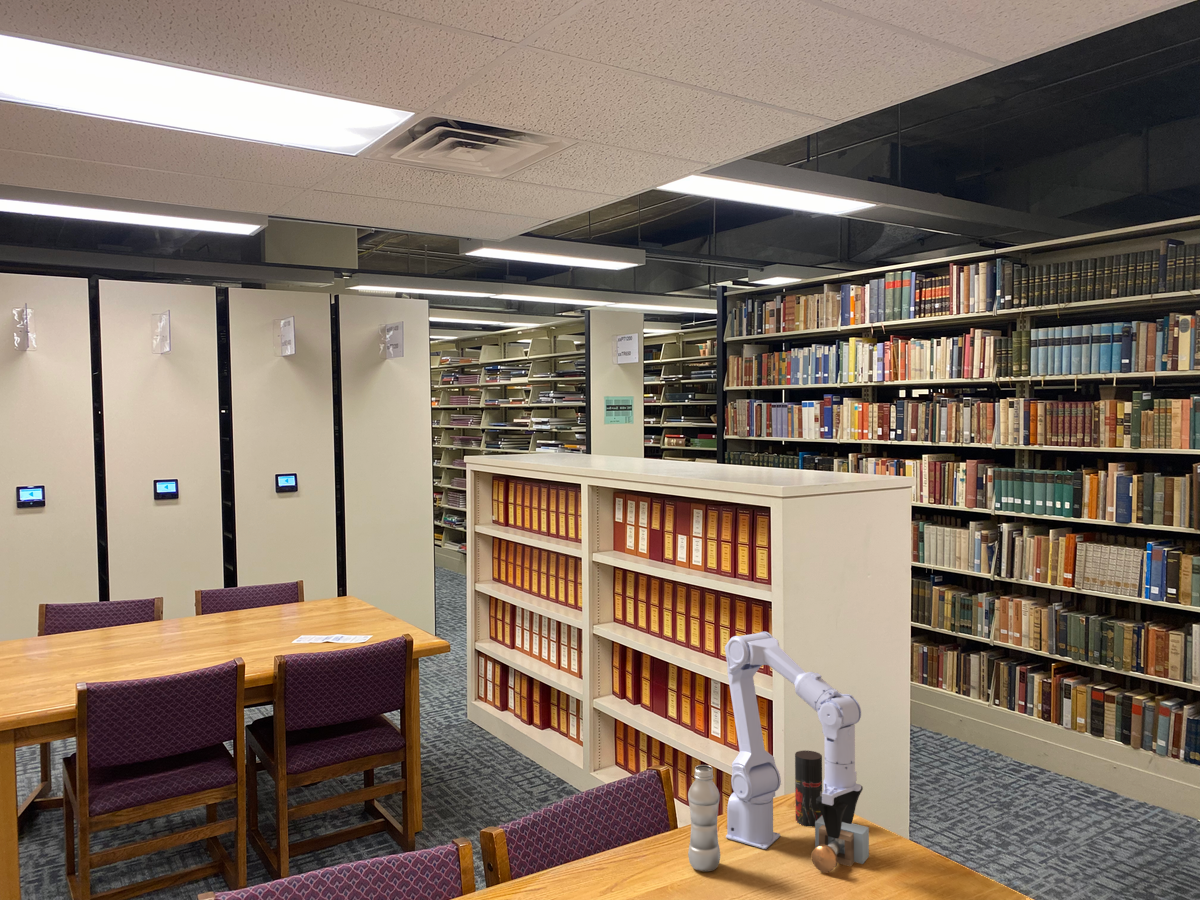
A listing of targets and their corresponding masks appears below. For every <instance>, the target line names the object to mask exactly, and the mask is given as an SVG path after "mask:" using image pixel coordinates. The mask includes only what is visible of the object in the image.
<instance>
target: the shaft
mask: <svg viewBox="0 0 1200 900" xmlns="http://www.w3.org/2000/svg"><path fill="white" fill-rule="evenodd" d="M844 846H845V840H842V839H836V838H834V839H833V840H832V841H831V842H830V843H829V844H828V845H824V844H821V845H818V846H817V847H816V848H815V847H814V848H813V850H812V852H811V855H810V856H811V857H810V858H811V861H812V863H813V866H814V867H815V868H816V869H817V870H818V871H820V872H822V873H830V872H832V871H833V870H834V869H835V868H836V866H837V864H838V863H837V854H838V853H839V852H840V851H841V850H842V849H843V847H844Z"/></svg>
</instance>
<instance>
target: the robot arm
mask: <svg viewBox="0 0 1200 900" xmlns="http://www.w3.org/2000/svg"><path fill="white" fill-rule="evenodd" d="M724 652H725V653H724V654H725V660H726V663H727V668H726V671H727V678H728V684H729V691H730V696H731V697H730V698H731V704H732V710H733V717H734V722H735V729H736V737H737V741H738V742H737V743H738V749H739V750H738V751H739V752H738V754H737V755H736V757H735V759H734V760H733V761H732V762H731V768H732V771H731V773H732V775H731V782H730V783H731V788H732V791H733V792H732V793H731V794H730V796H729V797H728V803H727V807H726V811H727V812H726V813H727V814H726V815H727V817H726V818H727V820H726V821H727V822H726V823H727V828H726V829H727V834H726V835H725V838H726V839H728V840H731V841H734V842H735V841H736V842H739V843H742V844H745V845H748V846H751V847H756V848H758V849H762V850H767V849H768V848H770V846H771V845H772V844H774V843H775V842H776V841H777V840H778V839H779V838H780V837H781V834H780V833H779V832H775V831H774V797H776V792H777V791H778V790H779V789H780V787H781V783H782V779H781V773H780V771H779V769H778V767H777V765H776V759H775V757H774V755H772V754H770V753H769V752H768V751H767V750H766V749H765V743H764V737H763V736H764V735H763V731H762V730H763V729H762V724H761V718H760V711H759V705H758V699H757V694H756V687H755V681H754V676H755V675H756V674H757V672H758V670H759V669H760V668H761V667H763V666H769V667H770V668H771V669H772V670H774V671H775V672H776V673H778V674H779V675H781V676H782V677H783V678H785V679H786V680H787V681H788V682H790V683H791V684H793V685H794V691H795V694H796V695H797V696H798V697H799V698H800V699H801V700H802V701H804V702H805V703H806V704H807V705H808V706H809V707H810V708H812V709H813V710H814V711H815V712H816V714H817V717H818V721H819V722H820V724H821V727H822V734H823V737H824V738H823V739H824V741H823V743H824V779H823V790H822V796H819V797H818V798H816V804H817V806H818V808H819V809H820V811H821V814H822V816H823V819H824V823H825V828H826V832H827V835H828V836H829V837H833V838H836V839H838V838H839V836H840V832H841V824H842V822H844V823H848V824H851V823H853V821H854V816H855V812H856V807H857V804H858V801H859V797H860V795H861V793H862V792H863V790H864V789H863V788H864V787H863V786H862V785H861V784H859V783H857V779H858V778H857V775H858V774H857V773H858V772H857V771H856V724H858V723H859V722H860V720H861V718H862V709H861V706H860V704H859V702H858V701H857V699H856V698H855V697H854V696H853V695H852V694H849V693H841V692H839V691H838V690H837V688H834V687H832V686H831V685H830V684H829V683H827V682H826V681H825V680H824V679H823V678H822V675H821V674H820V673H819V672H813V671H807V672H806V671H805V670H804V669H803V668H802V667H801V666H800V665H799V664H798V663H796V662H795V661H794V660H793V658H791V657H790V655H788V654H787V653H786V652H785V651H784V650H783V649H782V648H781V646H780V642H779V640H778V639H777V638H775V637H773V635H772V634H771V633H769V632H768V631H760V632H757V633H751V634H744V635H734V636H732V637H731V638H730V639H729V640H728V641H727V643H726V644H725V646H724Z"/></svg>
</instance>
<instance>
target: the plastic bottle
mask: <svg viewBox="0 0 1200 900" xmlns="http://www.w3.org/2000/svg"><path fill="white" fill-rule="evenodd" d="M713 771H714V769H713V767H712V766H710V765H707V764H699V765H696V766H695V767H694V774H693V775H694V779H695V780H694V781H693V782H692V784H691V786H690V787H689V790H688V792H687V799H688V804H689V812H690V815H689V816H690V836H689V837H690V841H689V843H688V844H689V846H688V853H687V855H688V856H687V857H688V861H689V864H690V866H691V867H692V868H693V870H694V869H695V870H696V871H699V872H711V871H714V870H716V869H717V868H718V866H719V865H720V861H721V848H720V845H719V837H718V813H719V804H720V792H719V789H718V787H717V786H716V784H715V783H714V780H713V779H714V774H713V773H714V772H713Z"/></svg>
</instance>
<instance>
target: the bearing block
mask: <svg viewBox="0 0 1200 900" xmlns="http://www.w3.org/2000/svg"><path fill="white" fill-rule="evenodd" d="M822 825H825V823H824V819H823V816H821V817H820V818H819V819H818V820H817V821H816V822H815V827H814V843H815V844H814V849H815V848H816V847H817V846H818V845H819V828H820V827H821V826H822ZM841 830H844V831H847V832H851V833H854V863H857V864H860V865H863V864H865V862H866V861H867V860H868V858H869V857H870V832H869V831H870V827H869V826H865V825H861V824H856V823H853V822H852V823H851V824H848V823H844V822H842V824H841ZM833 839H834V838H833V837H829V836H828V844H829V843H830V842H831V841H832V840H833ZM839 853H842V854H845V846H844V847H843V849H842V850H841V851H840V852H839Z"/></svg>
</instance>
